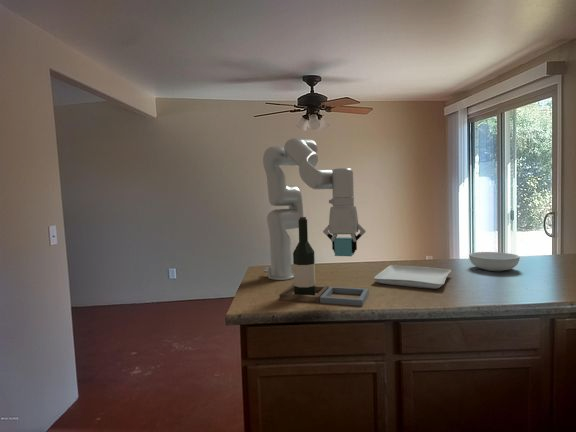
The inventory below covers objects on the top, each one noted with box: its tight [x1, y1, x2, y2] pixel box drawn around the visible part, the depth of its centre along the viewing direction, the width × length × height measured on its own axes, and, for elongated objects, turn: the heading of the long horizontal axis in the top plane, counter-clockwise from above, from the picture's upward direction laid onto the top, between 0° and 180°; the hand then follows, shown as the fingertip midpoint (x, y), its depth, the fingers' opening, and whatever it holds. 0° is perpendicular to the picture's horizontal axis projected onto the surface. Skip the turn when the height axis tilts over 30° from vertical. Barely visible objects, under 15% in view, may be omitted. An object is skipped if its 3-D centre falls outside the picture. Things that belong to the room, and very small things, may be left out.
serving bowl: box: [468, 251, 521, 272], centre depth 175 cm, size 21×21×7 cm
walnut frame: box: [279, 283, 330, 304], centre depth 142 cm, size 15×15×2 cm
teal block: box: [334, 236, 355, 257], centre depth 135 cm, size 6×6×6 cm
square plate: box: [372, 264, 452, 290], centre depth 159 cm, size 27×27×4 cm
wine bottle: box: [292, 216, 316, 296], centre depth 141 cm, size 8×8×30 cm
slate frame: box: [319, 285, 370, 307], centre depth 136 cm, size 15×15×2 cm
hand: (344, 251), depth 135 cm, fingers closed on teal block, 6 cm apart
